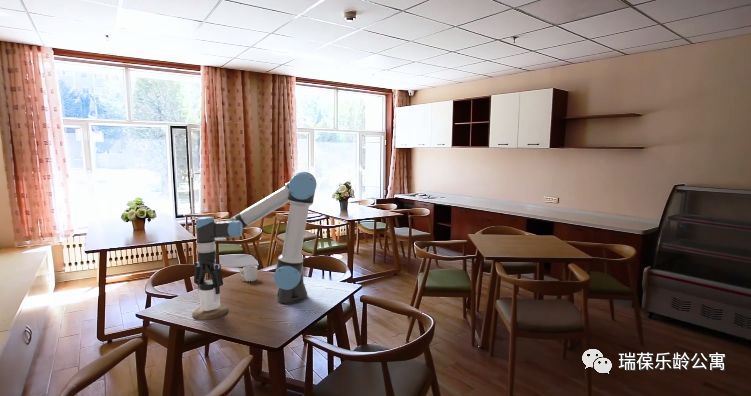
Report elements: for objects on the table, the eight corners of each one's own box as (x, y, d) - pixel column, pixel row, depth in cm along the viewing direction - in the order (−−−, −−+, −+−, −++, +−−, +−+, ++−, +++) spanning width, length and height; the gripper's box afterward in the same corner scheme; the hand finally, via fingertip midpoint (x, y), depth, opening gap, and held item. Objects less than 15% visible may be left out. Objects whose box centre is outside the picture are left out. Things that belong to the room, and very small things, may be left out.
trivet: (234, 309, 183) (234, 306, 183) (210, 322, 169) (210, 319, 169) (210, 305, 188) (210, 303, 188) (185, 317, 175) (184, 314, 174)
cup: (236, 282, 224) (236, 268, 224) (243, 278, 232) (242, 265, 231) (254, 282, 223) (253, 269, 222) (260, 278, 230) (259, 265, 230)
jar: (195, 309, 176) (194, 283, 175) (209, 303, 184) (207, 278, 182) (211, 312, 173) (209, 285, 172) (224, 305, 180) (222, 280, 179)
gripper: (230, 250, 175) (233, 299, 177) (196, 247, 183) (199, 294, 185) (217, 254, 168) (220, 305, 171) (183, 251, 176) (186, 299, 178)
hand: (209, 299), depth 178 cm, fingers closed on jar, 8 cm apart
